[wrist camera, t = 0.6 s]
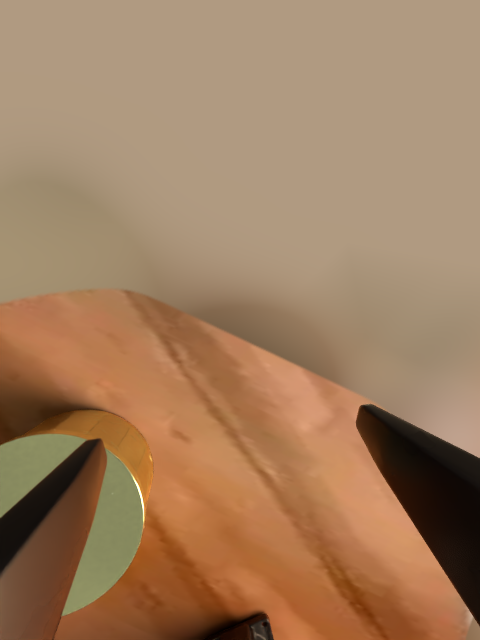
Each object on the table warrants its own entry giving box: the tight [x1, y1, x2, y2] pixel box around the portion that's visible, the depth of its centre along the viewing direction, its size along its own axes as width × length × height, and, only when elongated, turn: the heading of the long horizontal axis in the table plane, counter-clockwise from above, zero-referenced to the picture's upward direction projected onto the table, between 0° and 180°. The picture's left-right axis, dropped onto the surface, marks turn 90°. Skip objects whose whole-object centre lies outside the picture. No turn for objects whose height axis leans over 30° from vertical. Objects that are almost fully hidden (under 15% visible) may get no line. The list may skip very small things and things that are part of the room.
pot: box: [26, 409, 153, 505], centre depth 18 cm, size 11×11×4 cm
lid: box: [0, 430, 146, 616], centre depth 14 cm, size 12×12×5 cm
